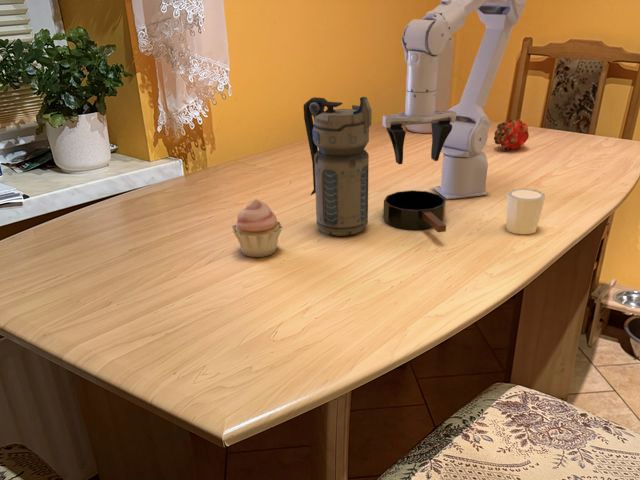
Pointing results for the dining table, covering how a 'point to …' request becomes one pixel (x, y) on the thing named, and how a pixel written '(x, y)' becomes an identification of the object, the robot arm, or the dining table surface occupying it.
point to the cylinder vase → (440, 85)
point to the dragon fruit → (511, 134)
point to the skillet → (415, 210)
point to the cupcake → (257, 230)
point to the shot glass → (523, 210)
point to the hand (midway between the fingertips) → (416, 161)
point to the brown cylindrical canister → (339, 164)
